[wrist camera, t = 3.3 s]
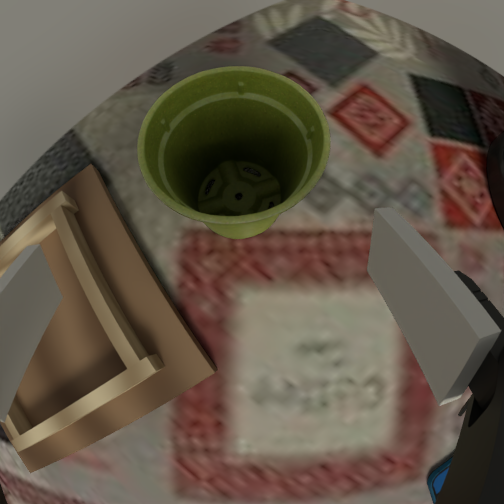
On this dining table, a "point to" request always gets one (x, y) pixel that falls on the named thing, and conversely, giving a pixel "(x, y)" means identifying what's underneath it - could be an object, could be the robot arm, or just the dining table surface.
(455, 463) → the robot arm
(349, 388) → the dining table surface
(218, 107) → the plant pot
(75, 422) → the pot stand
